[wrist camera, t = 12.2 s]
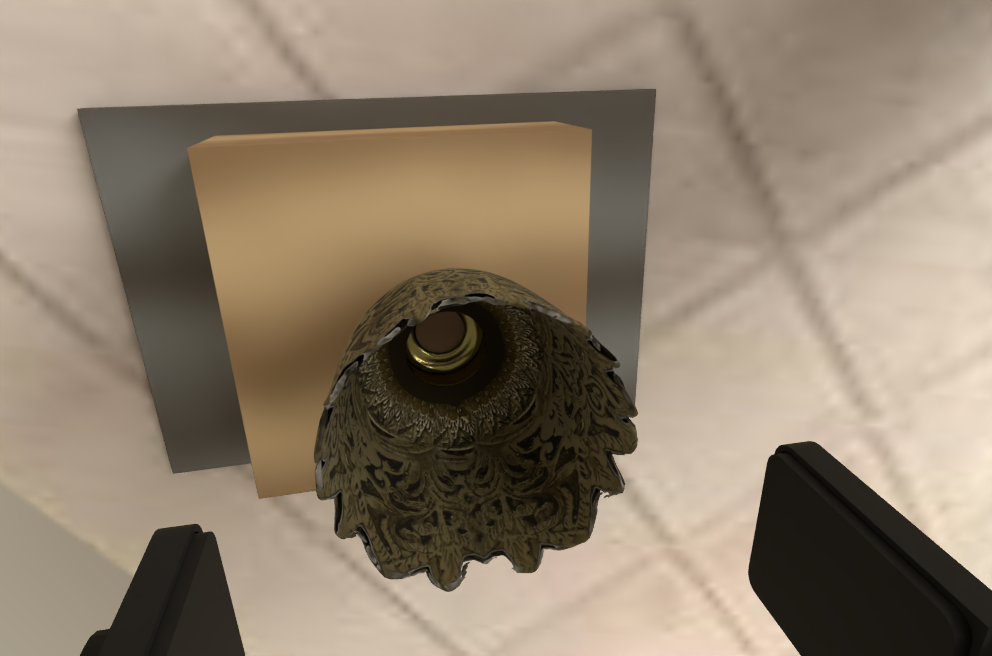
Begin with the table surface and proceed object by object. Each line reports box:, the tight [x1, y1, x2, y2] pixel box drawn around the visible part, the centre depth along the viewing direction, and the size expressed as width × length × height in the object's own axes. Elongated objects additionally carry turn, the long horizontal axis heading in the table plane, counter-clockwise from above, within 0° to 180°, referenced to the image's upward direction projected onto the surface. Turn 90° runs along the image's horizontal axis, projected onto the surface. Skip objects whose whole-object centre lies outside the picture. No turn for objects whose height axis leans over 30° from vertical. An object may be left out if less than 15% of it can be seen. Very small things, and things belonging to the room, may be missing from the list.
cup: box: [314, 268, 638, 592], centre depth 18 cm, size 8×7×8 cm
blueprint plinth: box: [77, 89, 656, 499], centre depth 23 cm, size 14×20×4 cm
